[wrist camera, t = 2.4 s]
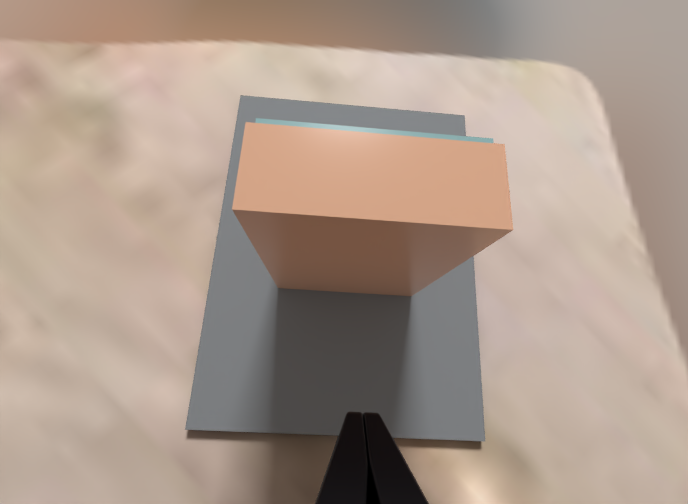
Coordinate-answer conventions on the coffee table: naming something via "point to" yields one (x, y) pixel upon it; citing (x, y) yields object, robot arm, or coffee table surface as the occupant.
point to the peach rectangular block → (367, 204)
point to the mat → (334, 327)
